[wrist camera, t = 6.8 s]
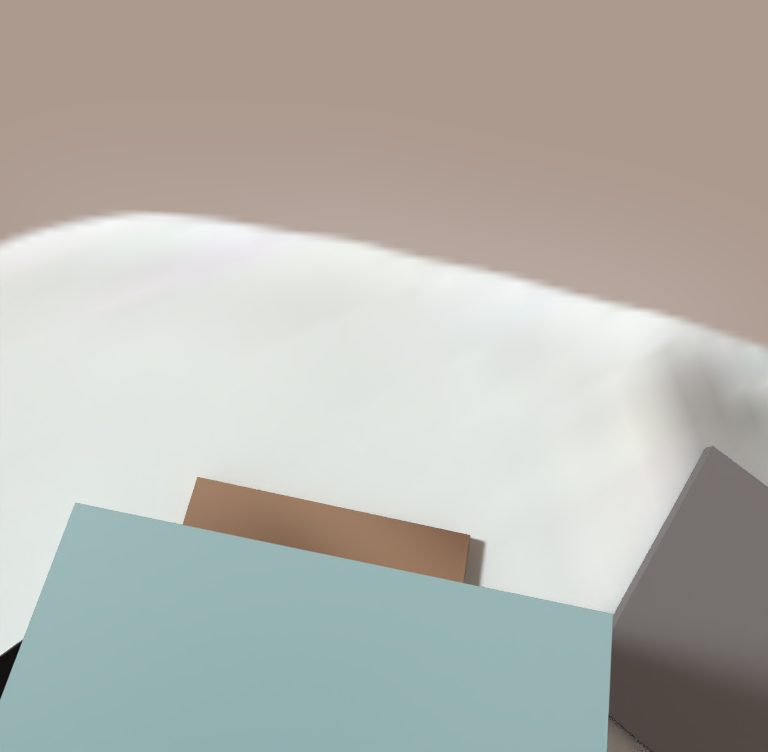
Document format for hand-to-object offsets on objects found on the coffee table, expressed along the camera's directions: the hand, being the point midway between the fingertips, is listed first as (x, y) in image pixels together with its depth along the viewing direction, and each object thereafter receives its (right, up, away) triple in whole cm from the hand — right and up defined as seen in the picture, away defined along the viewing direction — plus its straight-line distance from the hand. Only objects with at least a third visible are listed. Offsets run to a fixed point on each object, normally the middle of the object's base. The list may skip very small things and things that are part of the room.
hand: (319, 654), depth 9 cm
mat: (+14, -5, +10) cm, 18 cm away
